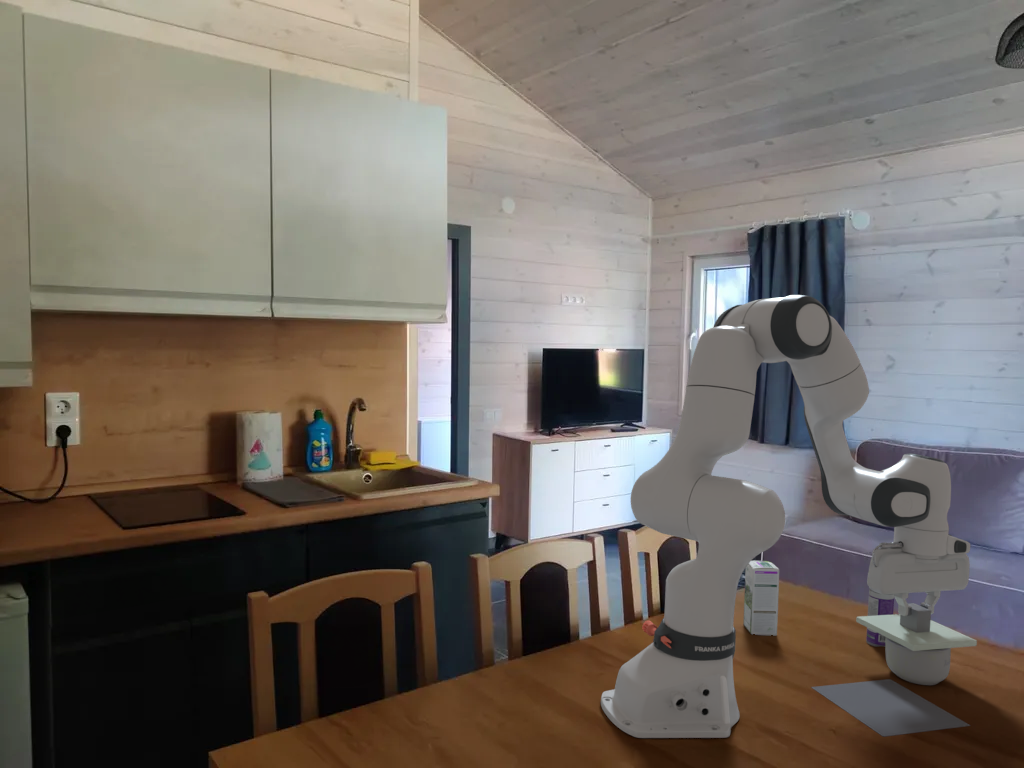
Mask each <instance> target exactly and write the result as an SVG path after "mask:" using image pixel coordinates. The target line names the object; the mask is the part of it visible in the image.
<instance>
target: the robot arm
mask: <svg viewBox="0 0 1024 768" xmlns="http://www.w3.org/2000/svg"><path fill="white" fill-rule="evenodd" d="M829 313H830V312H828V310H827V309H826V307H825V306H824V305H823V304H822V302H820V300H818V299H817V298H814V297H812V296H810V295H804V294H803V295H802V294H790V295H787V296H784V297H781V296H780V297H772V298H771V297H770V298H768V297H766V298H761V299H756V300H752V301H749V302H747V303H744V304H736V305H734V306H732V307H730V308H728V309H726V310H724V311H723V312H722V313H721V314H719V316H718V317H717V319H716V321H715V322H714V324H713V326H712V327H710V328H709V329H707V330H705V331H704V332H703V333H702V334H701V335H700V337H699V339H698V341H697V343H696V347H695V349H694V353H693V356H692V359H691V364H690V366H689V367H690V368H689V370H688V371H689V372H688V375H687V382H686V387H685V388H686V389H685V395H684V400H683V406H682V413H681V417H680V421H679V426H678V429H677V432H676V436H675V437H674V440H673V442H672V444H671V445H670V447H669V448H668V450H667V451H666V453H665V454H664V456H663V457H662V458H661V459H660V460H659V461H658V462H657V463H656V464H655V465H653V466H652V467H650V468H649V469H647V470H646V471H644V472H643V473H642V474H641V475H639V476H638V478H637V479H636V480H635V482H634V484H633V487H632V488H631V493H630V508H631V510H632V514H633V516H634V518H635V520H636V521H637V523H639V524H640V525H643V526H646V527H648V528H649V529H651V530H653V531H655V532H658V533H661V534H663V535H668V536H672V537H677V538H681V539H686V540H689V541H690V540H691V541H695V542H696V543H697V542H698V551H697V553H696V554H697V555H696V558H694V559H690V560H687V561H683V562H682V563H679V564H677V565H676V566H674V567H673V568H672V569H671V571H670V572H669V573H668V575H667V577H666V579H665V590H664V591H665V595H664V616H663V618H662V620H661V621H660V624H659V625H658V626H657V625H656V624H655V623H653V621H651V620H645V621H644V622H643V623H642V626H641V627H642V631H643V632H644V633H646V634H647V635H648V636H650V637H653V639H652V642H651V643H650V644H649V645H647V647H645V648H644V649H642V650H641V651H640V652H638V653H637V654H636V655H635V656H633V657H632V658H630V659H629V660H628V661H627V662H624V663H623V664H622V665H621V667H620V668H619V670H618V673H617V677H616V681H615V686H614V689H609V690H605V691H603V692H602V694H601V697H600V706H601V709H602V711H603V713H604V714H605V715H606V716H607V718H608V719H609V721H610V722H612V724H614V725H615V726H616V728H619V730H621V731H622V732H624V733H626V734H627V735H630V736H632V737H634V738H638V739H669V738H670V739H679V738H680V739H681V738H683V739H686V738H687V739H689V738H690V739H694V738H695V739H696V738H697V739H698V738H699V739H700V738H701V739H711V738H712V739H714V738H716V739H717V738H719V739H721V738H722V739H723V738H729V737H730V735H731V733H732V730H731V729H732V727H733V726H734V725H735V724H736V723H737V722H738V721H739V720H740V717H741V716H740V711H739V707H738V706H739V705H738V703H737V702H738V701H737V698H736V697H737V696H736V691H735V690H736V689H735V682H734V663H733V659H734V657H735V652H736V636H737V635H736V633H737V632H736V628H735V627H734V617H735V607H736V599H737V598H736V597H737V593H738V592H737V591H738V590H737V589H738V585H739V582H740V579H741V576H742V574H743V573H744V571H745V570H746V566H747V565H748V564H749V562H750V561H753V559H754V558H756V557H757V556H758V555H760V554H762V553H763V552H765V551H768V550H769V549H770V548H772V547H773V546H774V545H775V544H776V543H777V542H778V541H779V540H780V538H781V535H782V534H783V532H784V529H785V524H786V513H785V508H784V505H783V502H782V500H781V498H780V497H779V495H778V494H777V492H776V491H775V490H773V489H770V488H768V487H765V486H762V485H761V484H757V483H754V482H752V481H749V480H745V479H738V478H732V477H727V476H726V477H725V476H719V475H718V476H717V475H712V473H713V470H714V468H715V465H716V464H717V463H718V461H720V459H721V458H722V457H723V456H727V455H729V454H733V453H734V452H737V451H738V450H740V449H741V448H742V447H744V445H745V444H746V443H747V442H748V440H749V438H750V433H751V426H752V425H751V424H752V417H753V411H754V405H755V404H754V403H755V395H756V388H757V386H756V385H757V372H758V369H759V368H760V366H761V364H762V363H765V364H775V363H776V364H777V363H782V362H787V363H788V364H789V366H790V369H791V373H792V374H793V376H794V380H795V382H796V384H797V386H798V389H799V392H800V394H801V397H802V401H803V405H804V406H803V417H804V422H805V426H806V429H807V433H808V436H809V438H810V442H811V445H812V448H813V451H814V454H815V457H816V461H817V464H818V468H819V471H820V478H821V479H820V481H821V494H822V498H823V501H824V503H825V504H826V506H827V507H828V508H829V509H830V510H831V511H832V512H834V513H836V514H838V515H842V516H848V517H851V518H856V519H860V520H862V521H865V522H868V523H873V524H876V525H880V526H883V527H889V528H893V541H891V542H886V541H885V542H880V543H879V544H878V545H877V546H875V548H873V550H872V553H871V554H872V556H871V558H870V562H869V566H868V572H867V579H866V582H867V583H866V584H867V586H868V588H870V589H871V590H873V591H875V592H877V593H879V594H883V595H884V594H894V600H895V601H896V603H897V605H898V607H897V613H898V614H900V615H902V616H910V615H912V612H911V611H912V607H911V606H908V602H907V599H908V598H909V594H911V593H912V594H913V593H925V594H926V596H925V599H924V601H923V602H920V606H922V607H924V608H926V609H929V610H931V615H933V614H934V613H935V605H936V604H937V603H938V601H939V599H940V598H941V592H945V591H946V592H947V591H949V592H950V591H959V590H960V591H961V590H962V591H963V590H965V589H966V587H967V586H968V584H969V579H970V558H969V556H968V554H969V553H970V550H971V542H969V541H967V540H964V539H962V538H958V537H956V536H953V535H952V534H949V530H950V527H949V522H948V512H949V510H950V508H951V498H952V479H951V471H950V469H949V468H950V467H949V465H948V464H947V463H946V462H945V461H943V460H942V459H939V458H936V457H931V456H926V455H921V454H917V453H905V454H903V455H902V458H901V459H900V460H899V461H897V463H895V464H894V465H891V466H890V467H887V468H885V469H882V470H880V471H879V470H874V469H870V468H867V467H865V466H862V465H861V464H859V463H858V462H857V461H856V460H855V459H854V458H853V456H852V453H851V451H850V450H851V449H850V447H849V444H848V440H847V436H846V433H845V430H844V426H843V425H844V424H843V423H844V421H845V420H846V419H848V418H850V417H852V416H853V415H855V414H857V413H858V412H859V411H860V410H861V409H862V408H863V407H864V405H865V404H866V402H867V400H868V397H869V395H870V390H869V389H870V388H869V382H868V377H867V375H866V373H865V370H864V368H863V365H862V363H861V361H860V359H859V356H858V354H857V352H856V350H855V348H854V346H853V344H852V342H851V341H850V339H849V337H848V335H847V334H846V333H845V331H844V329H843V328H842V327H841V325H840V324H839V322H838V321H837V320H836V319H835V318H834V317H833V316H832V315H830V314H829Z"/></svg>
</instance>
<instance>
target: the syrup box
mask: <svg viewBox="0 0 1024 768" xmlns="http://www.w3.org/2000/svg"><path fill="white" fill-rule="evenodd" d="M744 571H745V573H744V574H745V575H744V595H743V597H744V601H743V624H742V625H743V626H744V628H746V630H747V631H748V632H749V633H750V634H751V635H753V634H755V635H757V636H771V635H773V637H774V636H776V637H777V635H778V620H779V619H778V617H779V615H778V614H779V591H780V590H779V588H780V586H779V585H780V584H779V583H780V568H779V567H777V566H776V565H775V564H774V563H773V562H771V561H768V560H751V561H750V562H749V564H748V565H747V566H746V568H745V569H744Z"/></svg>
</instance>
